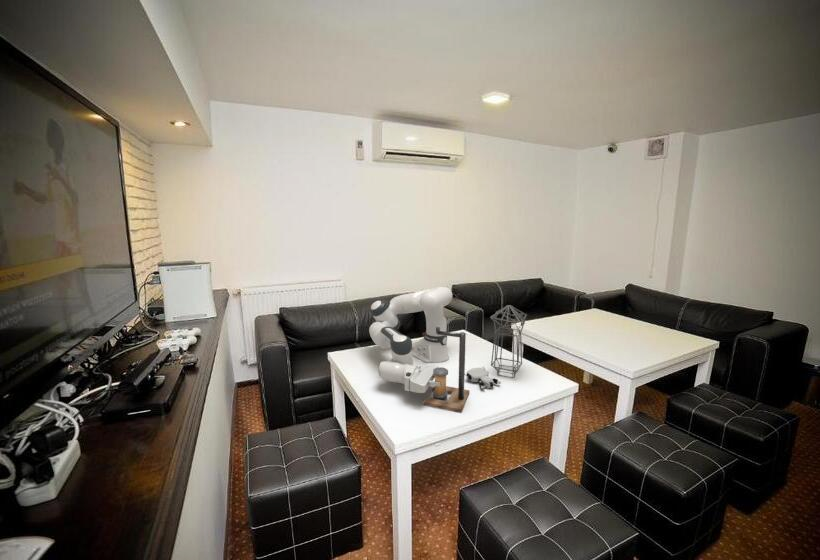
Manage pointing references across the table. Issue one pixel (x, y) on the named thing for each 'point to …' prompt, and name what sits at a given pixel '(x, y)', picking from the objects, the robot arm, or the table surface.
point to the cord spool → (441, 376)
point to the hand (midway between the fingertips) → (442, 380)
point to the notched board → (452, 402)
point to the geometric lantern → (508, 335)
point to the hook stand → (461, 358)
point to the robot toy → (481, 377)
